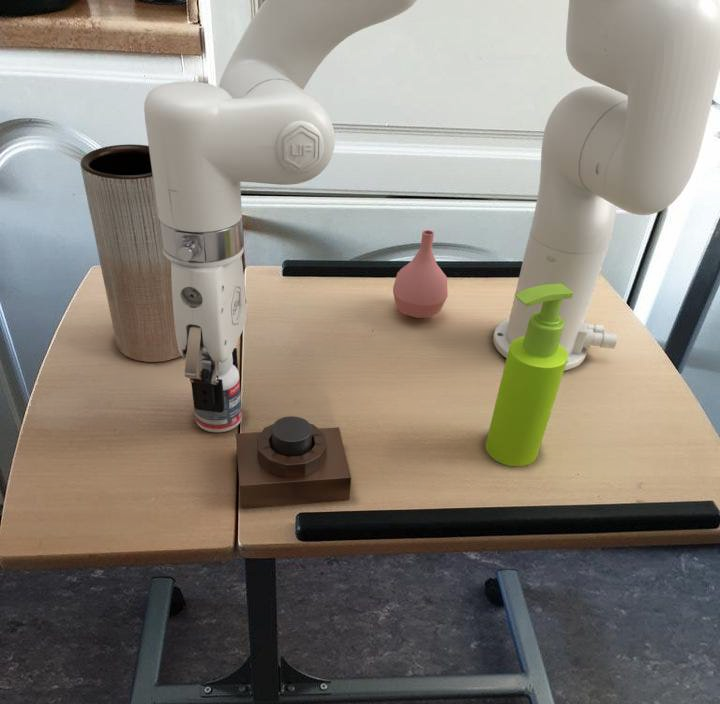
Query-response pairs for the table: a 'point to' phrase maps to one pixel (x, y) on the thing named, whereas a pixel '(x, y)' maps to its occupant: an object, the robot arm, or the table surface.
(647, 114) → the robot arm
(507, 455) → the soap dispenser
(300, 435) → the dark grey push button
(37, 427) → the table surface
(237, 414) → the pill bottle
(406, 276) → the pink vase
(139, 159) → the planter
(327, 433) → the brown button base
